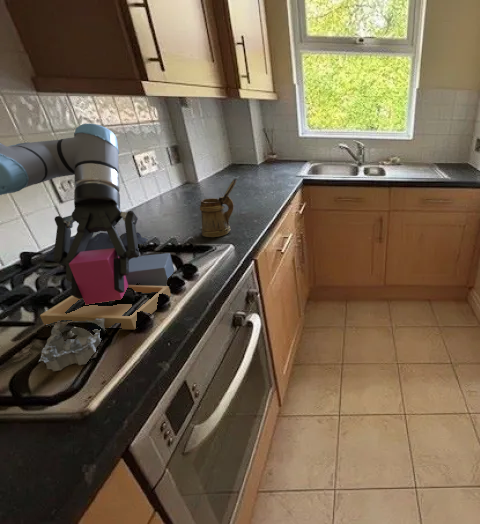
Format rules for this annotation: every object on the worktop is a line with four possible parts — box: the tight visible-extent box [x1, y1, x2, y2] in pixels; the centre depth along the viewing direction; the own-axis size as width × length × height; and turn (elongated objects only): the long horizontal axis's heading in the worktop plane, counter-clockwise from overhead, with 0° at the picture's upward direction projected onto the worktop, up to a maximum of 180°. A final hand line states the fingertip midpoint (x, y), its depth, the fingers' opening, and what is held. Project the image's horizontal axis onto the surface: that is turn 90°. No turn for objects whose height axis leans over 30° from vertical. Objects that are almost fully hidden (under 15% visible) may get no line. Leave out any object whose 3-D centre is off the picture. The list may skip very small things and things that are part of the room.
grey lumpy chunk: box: [38, 318, 107, 372], centre depth 58 cm, size 11×8×4 cm
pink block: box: [69, 248, 129, 305], centre depth 66 cm, size 6×6×9 cm
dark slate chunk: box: [43, 231, 149, 263], centre depth 95 cm, size 15×22×5 cm
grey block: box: [125, 252, 175, 286], centre depth 80 cm, size 9×9×5 cm
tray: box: [39, 285, 172, 331], centre depth 69 cm, size 18×13×3 cm
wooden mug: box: [199, 178, 238, 238], centre depth 109 cm, size 9×14×18 cm, turn 110°
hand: (98, 293), depth 64 cm, fingers closed on pink block, 6 cm apart
